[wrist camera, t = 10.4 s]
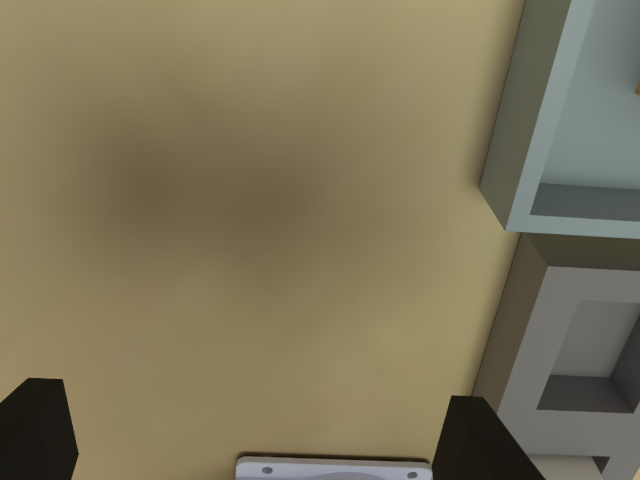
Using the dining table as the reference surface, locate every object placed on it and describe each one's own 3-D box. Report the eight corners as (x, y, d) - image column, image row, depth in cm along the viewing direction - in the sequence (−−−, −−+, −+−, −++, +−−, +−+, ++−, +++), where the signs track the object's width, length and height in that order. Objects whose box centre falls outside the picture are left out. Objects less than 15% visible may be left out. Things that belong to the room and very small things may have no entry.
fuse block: (440, 497, 29) (451, 544, 26) (522, 229, 20) (548, 266, 18) (571, 501, 29) (592, 548, 27) (702, 240, 21) (748, 277, 19)
